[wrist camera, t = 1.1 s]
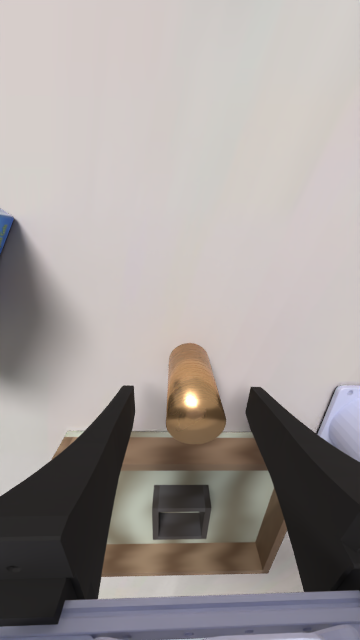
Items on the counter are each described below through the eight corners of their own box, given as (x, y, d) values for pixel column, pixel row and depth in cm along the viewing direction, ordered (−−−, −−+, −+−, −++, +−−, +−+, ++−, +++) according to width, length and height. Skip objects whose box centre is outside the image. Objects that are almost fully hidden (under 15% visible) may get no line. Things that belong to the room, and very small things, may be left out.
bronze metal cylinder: (210, 343, 16) (229, 400, 10) (206, 377, 17) (222, 444, 11) (169, 342, 15) (166, 399, 10) (168, 376, 17) (165, 444, 11)
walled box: (295, 432, 19) (315, 464, 17) (258, 538, 27) (268, 573, 24) (67, 431, 19) (48, 464, 16) (93, 541, 26) (83, 577, 23)
